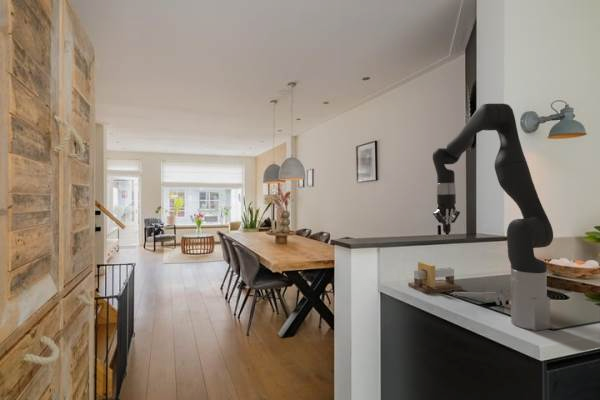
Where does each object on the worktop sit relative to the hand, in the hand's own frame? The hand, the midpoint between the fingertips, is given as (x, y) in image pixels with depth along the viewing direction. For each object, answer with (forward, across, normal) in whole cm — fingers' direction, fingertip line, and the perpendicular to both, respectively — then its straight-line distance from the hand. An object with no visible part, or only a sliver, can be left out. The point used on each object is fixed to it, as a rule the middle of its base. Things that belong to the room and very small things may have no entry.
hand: (446, 232), depth 147 cm
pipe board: (+24, -7, 0) cm, 25 cm away
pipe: (+19, -7, 0) cm, 20 cm away
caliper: (+25, -3, -19) cm, 31 cm away
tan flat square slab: (+22, -11, 0) cm, 25 cm away
